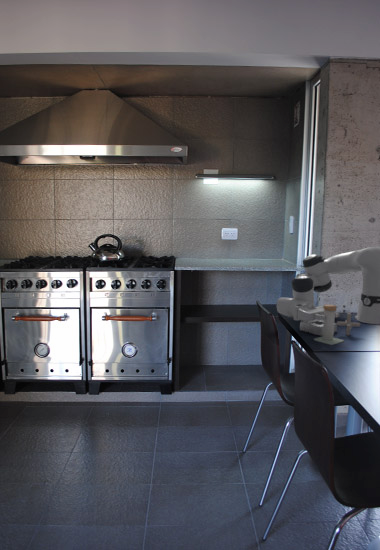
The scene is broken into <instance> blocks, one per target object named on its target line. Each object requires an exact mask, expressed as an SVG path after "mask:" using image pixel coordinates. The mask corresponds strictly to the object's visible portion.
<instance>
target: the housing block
mask: <svg viewBox="0 0 380 550" xmlns="http://www.w3.org/2000/svg"><path fill="white" fill-rule="evenodd" d="M323 322H324V320H313V321H300V323H299V331H300V332H301V331H302V332H306V333H308V332H309V334H313V335H317V336H320V337H323ZM337 330H338V325H337V322H334V333H337Z"/></svg>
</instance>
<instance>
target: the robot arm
mask: <svg viewBox="0 0 380 550" xmlns="http://www.w3.org/2000/svg"><path fill="white" fill-rule="evenodd" d="M302 266H303V269H304V270H305V272H300V273H298V274H296V276H295V277H294V278H293V279H292V280H291V282H290V283H291V289H292V297H286V296H285V297H282V296H281V297H279V298H278V299H277V301H276V310H277V312H278V314H279V313H280V315H282V316H286V317H289V318H293V321H300V322H302V321H313V320H326V318H327V317H326V316H324V309H323V307H324V305H318V306H315V297H314V296H315V294H314V292H316V293H318V294H319V293H326V292H328V291H329V290H331V288H332V286H333V283H332V279H331V278H330V275H343V274H344V275H345V274H351V273H357V272H361V273H362V274H361V275H362V292H361V294H360V301H359V303H358V307H357V313H356V315H354V318H355V319H356V321H358V322H359V323H365V324H370V325H380V246H368V247H365V248H362V249H358V250H353V251H347V252H343V253H339V254H334V255H332V256H330V257H328V258H326V257H325V256H322V255H320V254H317V253H313V254H309V255H307V256H306V257H305V258H304V259H302ZM339 317H340V313H339V312H337V309H336V310H335V318H339Z"/></svg>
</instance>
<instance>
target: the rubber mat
mask: <svg viewBox="0 0 380 550" xmlns="http://www.w3.org/2000/svg"><path fill="white" fill-rule="evenodd" d="M322 337H323V336H320V337H316V338H313V341H315V342H320V343H323V344H326V345H330V346H333V345H337V344H341V343H344V341H345V340H344V339H340V338H338V337H337V338H336V337H333V340H332V341H326V340H323V339H322Z"/></svg>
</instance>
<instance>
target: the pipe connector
mask: <svg viewBox="0 0 380 550" xmlns="http://www.w3.org/2000/svg"><path fill="white" fill-rule="evenodd" d="M336 324H337V326H343V327H345V336H350V335H351V329H352V328H353V327H355V328H356V327H358V328H359V327H361V322H354V321H353V322H352V313H350V312H347V313H346V319H345V321H337V322H336Z"/></svg>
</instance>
